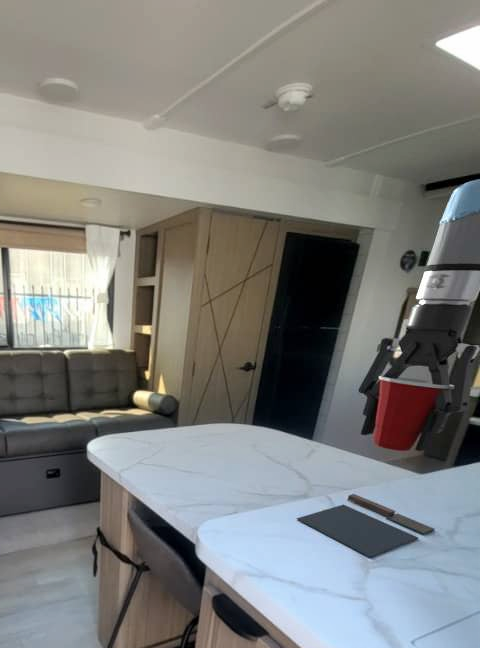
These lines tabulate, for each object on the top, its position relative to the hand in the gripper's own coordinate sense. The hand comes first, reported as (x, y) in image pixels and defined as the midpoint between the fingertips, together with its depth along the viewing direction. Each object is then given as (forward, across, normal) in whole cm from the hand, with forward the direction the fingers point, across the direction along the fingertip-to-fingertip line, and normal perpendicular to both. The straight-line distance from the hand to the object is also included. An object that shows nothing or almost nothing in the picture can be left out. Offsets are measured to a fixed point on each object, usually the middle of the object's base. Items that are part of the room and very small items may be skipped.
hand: (392, 441), depth 73 cm
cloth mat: (+17, 0, -3) cm, 18 cm away
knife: (+17, 0, +9) cm, 19 cm away
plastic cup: (+1, 0, 0) cm, 1 cm away
